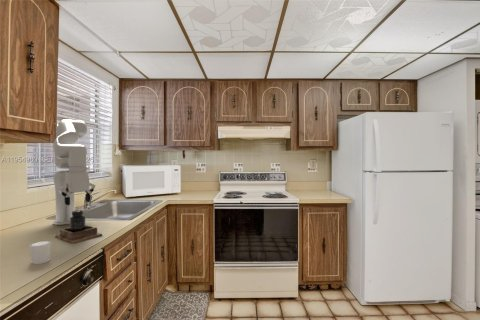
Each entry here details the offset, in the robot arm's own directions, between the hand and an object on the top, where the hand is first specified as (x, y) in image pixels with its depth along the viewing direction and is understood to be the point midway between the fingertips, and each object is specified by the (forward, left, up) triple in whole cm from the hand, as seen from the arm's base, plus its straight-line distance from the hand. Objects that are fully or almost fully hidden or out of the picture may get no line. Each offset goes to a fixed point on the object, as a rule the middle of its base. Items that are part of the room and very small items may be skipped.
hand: (78, 203), depth 135 cm
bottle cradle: (0, 0, -17) cm, 17 cm away
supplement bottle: (0, 0, -16) cm, 16 cm away
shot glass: (+21, -24, -17) cm, 36 cm away
